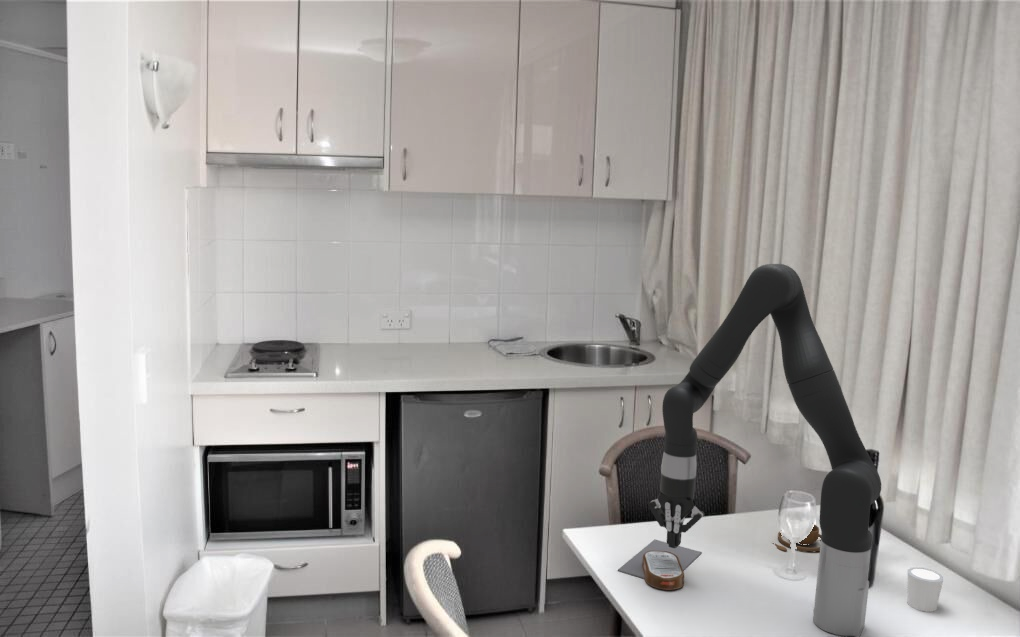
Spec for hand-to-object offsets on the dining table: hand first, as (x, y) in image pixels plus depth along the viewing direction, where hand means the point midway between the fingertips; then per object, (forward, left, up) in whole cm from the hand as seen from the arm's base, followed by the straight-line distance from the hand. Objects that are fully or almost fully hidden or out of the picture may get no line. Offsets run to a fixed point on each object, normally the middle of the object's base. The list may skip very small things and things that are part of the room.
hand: (673, 546), depth 186 cm
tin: (-3, +1, -4) cm, 5 cm away
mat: (+4, -3, -6) cm, 8 cm away
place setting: (-23, -33, -7) cm, 41 cm away
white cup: (-49, -18, -6) cm, 53 cm away
